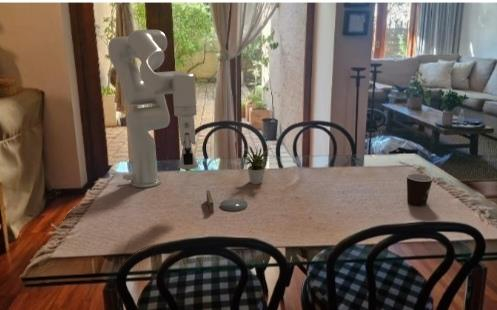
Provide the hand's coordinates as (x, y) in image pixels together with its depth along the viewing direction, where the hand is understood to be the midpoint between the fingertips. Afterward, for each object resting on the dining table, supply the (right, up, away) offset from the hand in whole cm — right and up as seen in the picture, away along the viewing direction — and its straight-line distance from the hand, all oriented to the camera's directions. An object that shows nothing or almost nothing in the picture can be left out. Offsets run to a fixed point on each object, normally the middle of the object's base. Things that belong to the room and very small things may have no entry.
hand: (188, 161), depth 148 cm
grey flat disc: (+16, -16, +6) cm, 23 cm away
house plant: (+23, -9, +30) cm, 39 cm away
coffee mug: (+84, -15, +7) cm, 86 cm away
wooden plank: (+7, -16, +5) cm, 19 cm away
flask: (0, -2, +1) cm, 2 cm away
